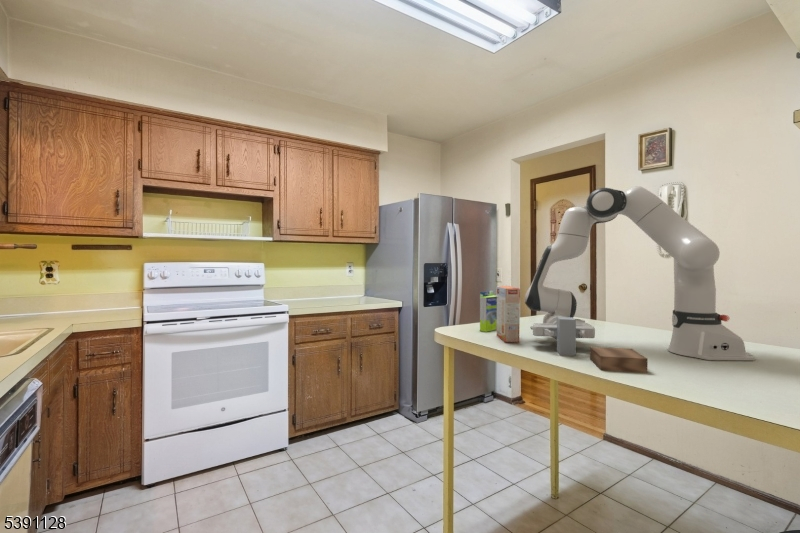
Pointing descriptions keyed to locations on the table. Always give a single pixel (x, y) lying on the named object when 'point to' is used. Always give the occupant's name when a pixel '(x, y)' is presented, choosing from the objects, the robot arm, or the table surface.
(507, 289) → the cracker box
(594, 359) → the walnut block
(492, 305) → the box
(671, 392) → the table surface
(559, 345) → the grey block
